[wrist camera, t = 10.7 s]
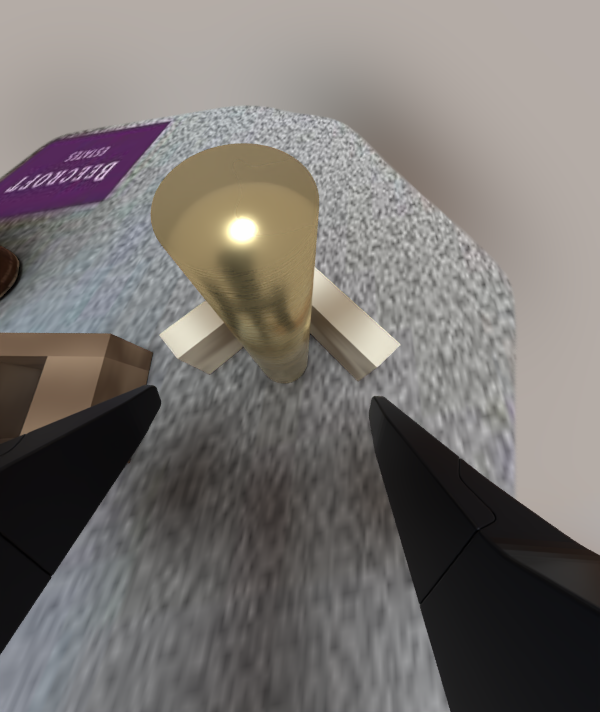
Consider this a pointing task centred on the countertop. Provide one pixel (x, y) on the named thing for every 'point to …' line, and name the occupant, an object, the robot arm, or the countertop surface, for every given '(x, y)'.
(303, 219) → the axle
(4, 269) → the coffee cup
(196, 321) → the v block
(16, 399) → the bore block
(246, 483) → the countertop surface
